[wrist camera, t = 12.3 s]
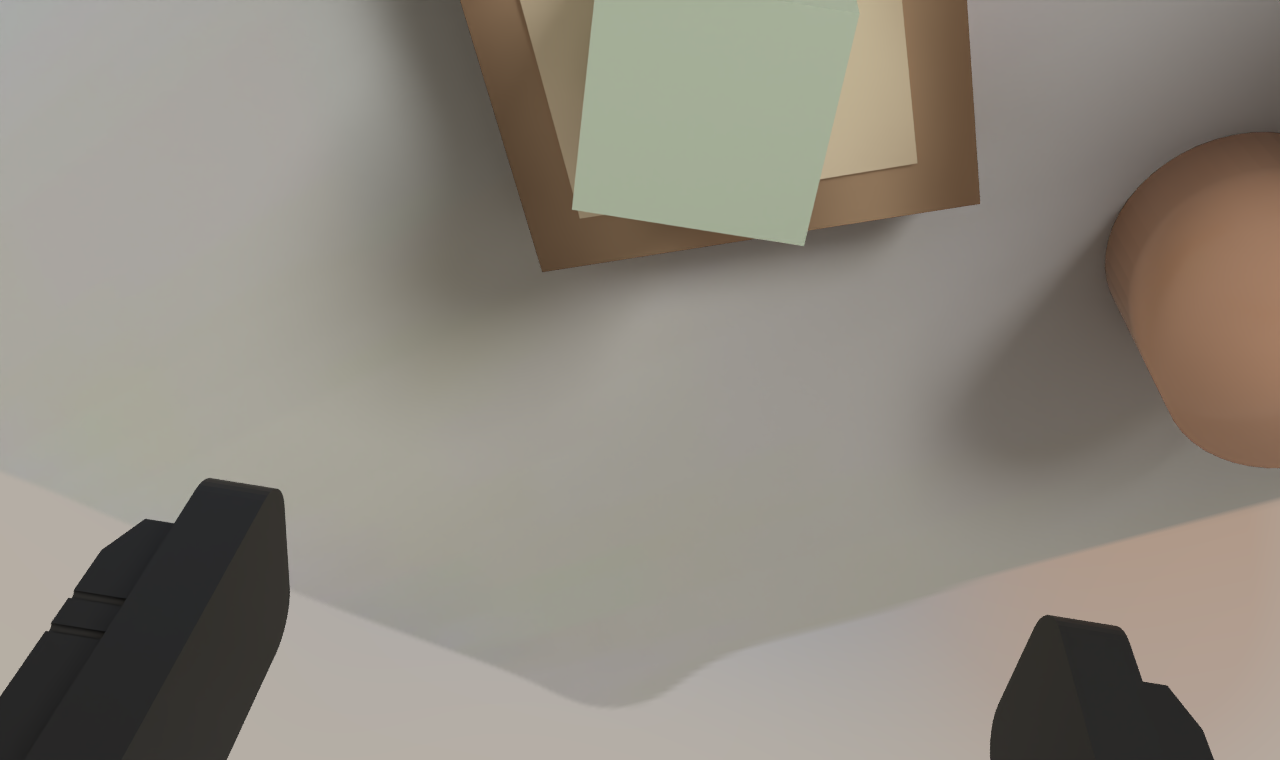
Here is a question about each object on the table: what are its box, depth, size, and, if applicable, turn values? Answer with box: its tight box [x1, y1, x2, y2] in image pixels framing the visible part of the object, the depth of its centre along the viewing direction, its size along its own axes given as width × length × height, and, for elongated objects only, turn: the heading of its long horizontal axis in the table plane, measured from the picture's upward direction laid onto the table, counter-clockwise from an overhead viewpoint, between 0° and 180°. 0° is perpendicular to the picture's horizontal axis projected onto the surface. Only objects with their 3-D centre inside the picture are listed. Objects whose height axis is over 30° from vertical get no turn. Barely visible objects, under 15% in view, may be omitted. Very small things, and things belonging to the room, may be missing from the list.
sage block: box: [572, 0, 860, 246], centre depth 26 cm, size 5×5×6 cm
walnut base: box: [460, 0, 980, 272], centre depth 30 cm, size 12×12×3 cm
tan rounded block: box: [1105, 132, 1280, 468], centre depth 31 cm, size 7×7×6 cm
